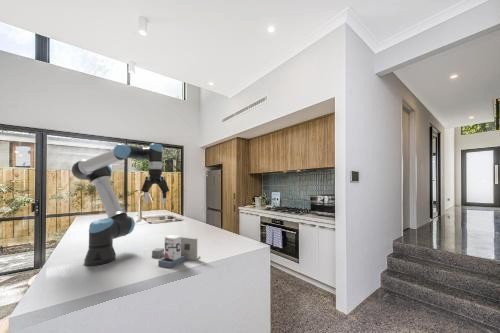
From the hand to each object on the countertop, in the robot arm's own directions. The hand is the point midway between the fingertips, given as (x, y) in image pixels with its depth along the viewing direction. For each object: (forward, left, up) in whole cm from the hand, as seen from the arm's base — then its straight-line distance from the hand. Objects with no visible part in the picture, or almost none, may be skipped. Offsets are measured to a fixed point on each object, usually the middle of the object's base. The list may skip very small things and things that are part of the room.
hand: (154, 203), depth 135 cm
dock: (+18, -4, -32) cm, 37 cm away
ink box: (+18, -4, -30) cm, 35 cm away
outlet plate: (+18, +6, -32) cm, 37 cm away
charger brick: (+1, +2, -33) cm, 33 cm away
